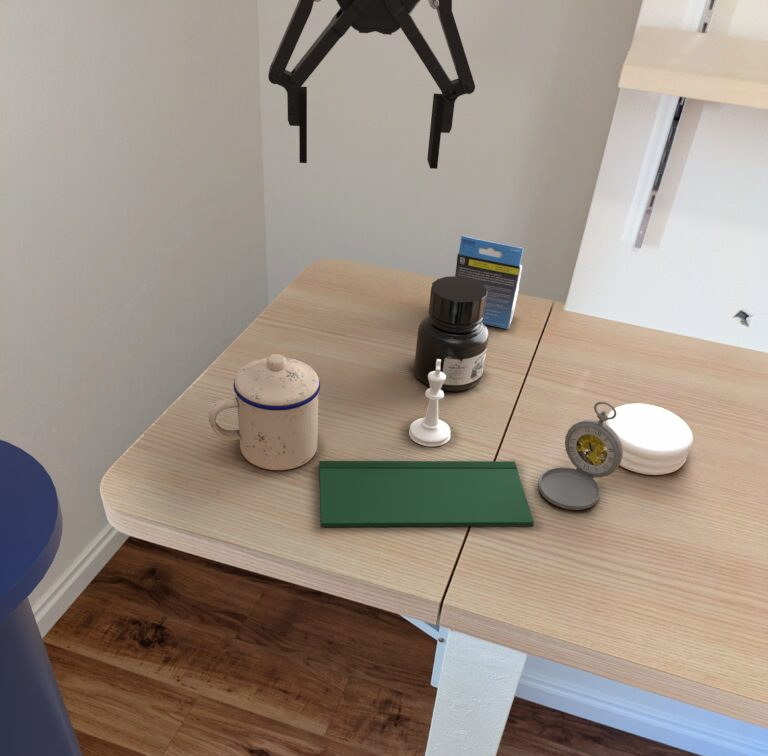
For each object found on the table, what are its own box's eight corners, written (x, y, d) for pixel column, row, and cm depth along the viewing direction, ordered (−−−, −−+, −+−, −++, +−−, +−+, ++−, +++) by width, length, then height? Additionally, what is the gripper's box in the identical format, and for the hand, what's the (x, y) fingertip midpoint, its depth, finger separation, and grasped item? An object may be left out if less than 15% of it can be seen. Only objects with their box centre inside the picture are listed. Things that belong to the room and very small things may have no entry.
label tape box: (513, 318, 116) (529, 236, 108) (508, 331, 113) (524, 248, 105) (455, 306, 118) (466, 225, 110) (448, 319, 115) (459, 236, 107)
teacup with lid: (307, 419, 94) (307, 331, 86) (329, 465, 88) (331, 375, 80) (205, 434, 91) (195, 344, 83) (221, 484, 85) (212, 391, 77)
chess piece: (408, 445, 92) (416, 370, 85) (409, 420, 95) (416, 346, 89) (450, 448, 92) (462, 374, 85) (449, 423, 96) (460, 350, 89)
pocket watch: (537, 508, 85) (557, 432, 78) (537, 460, 91) (555, 386, 85) (614, 519, 84) (641, 443, 78) (609, 470, 91) (633, 396, 84)
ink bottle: (455, 403, 99) (468, 315, 91) (398, 376, 103) (406, 290, 95) (495, 372, 105) (511, 287, 97) (440, 348, 109) (451, 264, 101)
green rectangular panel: (320, 527, 81) (320, 522, 80) (319, 465, 88) (319, 460, 88) (533, 526, 83) (534, 521, 82) (514, 466, 90) (515, 461, 90)
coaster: (583, 431, 96) (590, 407, 94) (653, 420, 99) (662, 396, 97) (628, 483, 89) (637, 458, 87) (702, 469, 92) (712, 445, 90)
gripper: (512, -85, 74) (479, 154, 88) (238, -106, 71) (250, 144, 85) (529, -75, 68) (490, 179, 82) (233, -97, 66) (246, 168, 80)
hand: (368, 161), depth 84 cm, fingers open, 13 cm apart
